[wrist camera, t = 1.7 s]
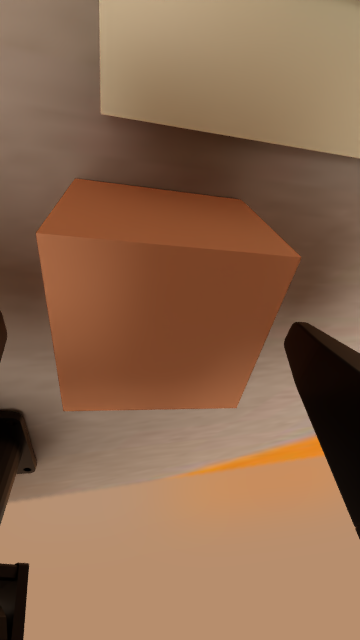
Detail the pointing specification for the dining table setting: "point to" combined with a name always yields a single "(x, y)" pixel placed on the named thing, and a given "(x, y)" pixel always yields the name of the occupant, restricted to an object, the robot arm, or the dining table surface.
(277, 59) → the cream flat block
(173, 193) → the brick
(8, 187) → the dining table surface
